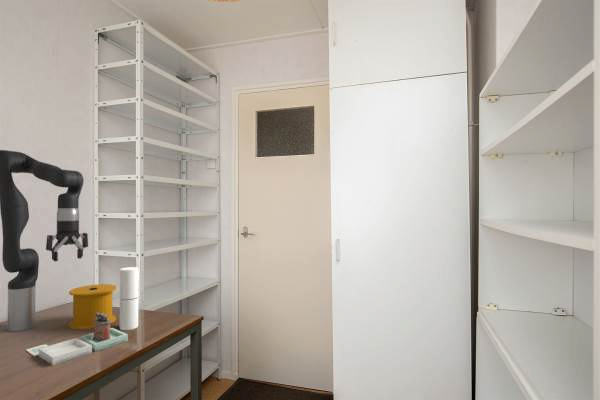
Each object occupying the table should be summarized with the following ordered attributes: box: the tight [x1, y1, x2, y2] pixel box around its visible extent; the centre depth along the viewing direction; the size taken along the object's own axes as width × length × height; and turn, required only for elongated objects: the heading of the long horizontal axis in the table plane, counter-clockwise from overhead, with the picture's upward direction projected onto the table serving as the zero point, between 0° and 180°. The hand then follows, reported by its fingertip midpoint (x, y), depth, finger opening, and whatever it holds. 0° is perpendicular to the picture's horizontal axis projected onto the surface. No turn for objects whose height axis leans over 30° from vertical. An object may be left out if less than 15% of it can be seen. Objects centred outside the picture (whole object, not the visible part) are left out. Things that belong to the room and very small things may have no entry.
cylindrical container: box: [119, 266, 140, 331], centre depth 148 cm, size 7×7×25 cm
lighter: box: [93, 313, 112, 342], centre depth 132 cm, size 8×3×10 cm, turn 63°
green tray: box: [79, 327, 129, 352], centre depth 132 cm, size 12×12×2 cm
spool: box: [68, 283, 117, 330], centre depth 154 cm, size 18×18×15 cm
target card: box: [25, 343, 49, 357], centre depth 125 cm, size 8×6×1 cm
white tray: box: [38, 337, 93, 366], centre depth 122 cm, size 12×12×2 cm
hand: (67, 259), depth 140 cm, fingers open, 8 cm apart
